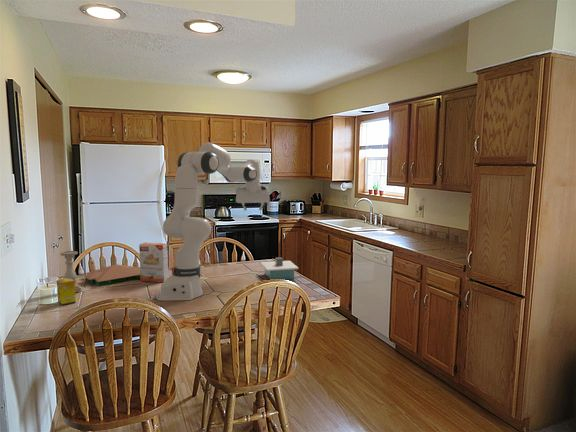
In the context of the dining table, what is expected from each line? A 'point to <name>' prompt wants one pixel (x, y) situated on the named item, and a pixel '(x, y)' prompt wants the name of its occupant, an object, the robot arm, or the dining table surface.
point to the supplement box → (66, 291)
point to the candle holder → (70, 267)
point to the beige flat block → (112, 273)
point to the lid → (279, 265)
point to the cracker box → (153, 262)
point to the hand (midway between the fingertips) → (252, 210)
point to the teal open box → (280, 274)
